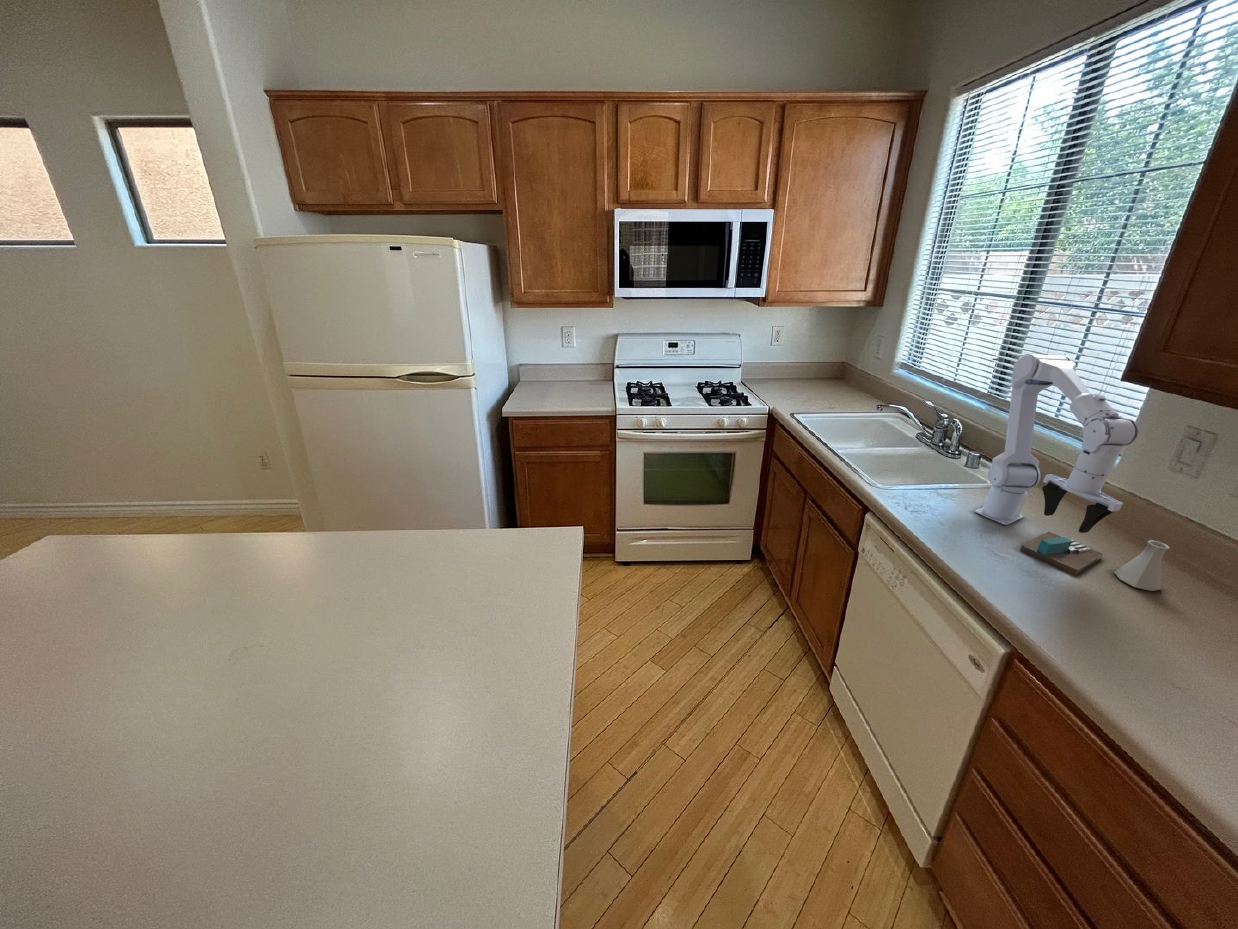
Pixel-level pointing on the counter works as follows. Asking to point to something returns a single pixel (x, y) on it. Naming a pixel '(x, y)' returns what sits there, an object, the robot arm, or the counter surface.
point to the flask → (1144, 567)
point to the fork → (1061, 546)
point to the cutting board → (1062, 555)
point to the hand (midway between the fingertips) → (1065, 523)
